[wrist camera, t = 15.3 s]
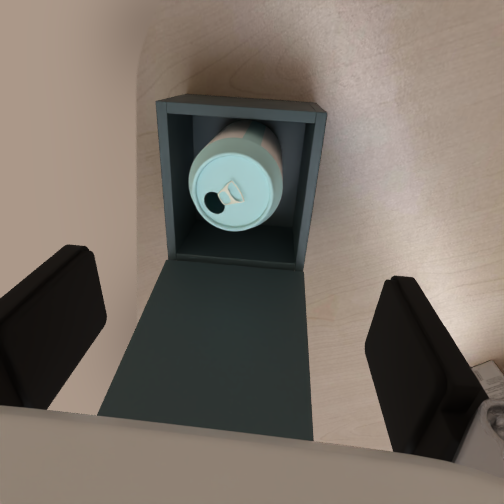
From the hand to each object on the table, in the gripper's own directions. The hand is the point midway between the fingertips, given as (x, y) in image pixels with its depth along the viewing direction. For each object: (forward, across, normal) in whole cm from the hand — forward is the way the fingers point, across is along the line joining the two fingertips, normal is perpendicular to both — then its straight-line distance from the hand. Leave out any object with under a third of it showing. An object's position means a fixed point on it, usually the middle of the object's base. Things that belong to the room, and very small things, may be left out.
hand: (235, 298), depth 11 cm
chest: (+26, +2, +3) cm, 26 cm away
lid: (+9, +2, +10) cm, 14 cm away
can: (+25, +2, +2) cm, 26 cm away
